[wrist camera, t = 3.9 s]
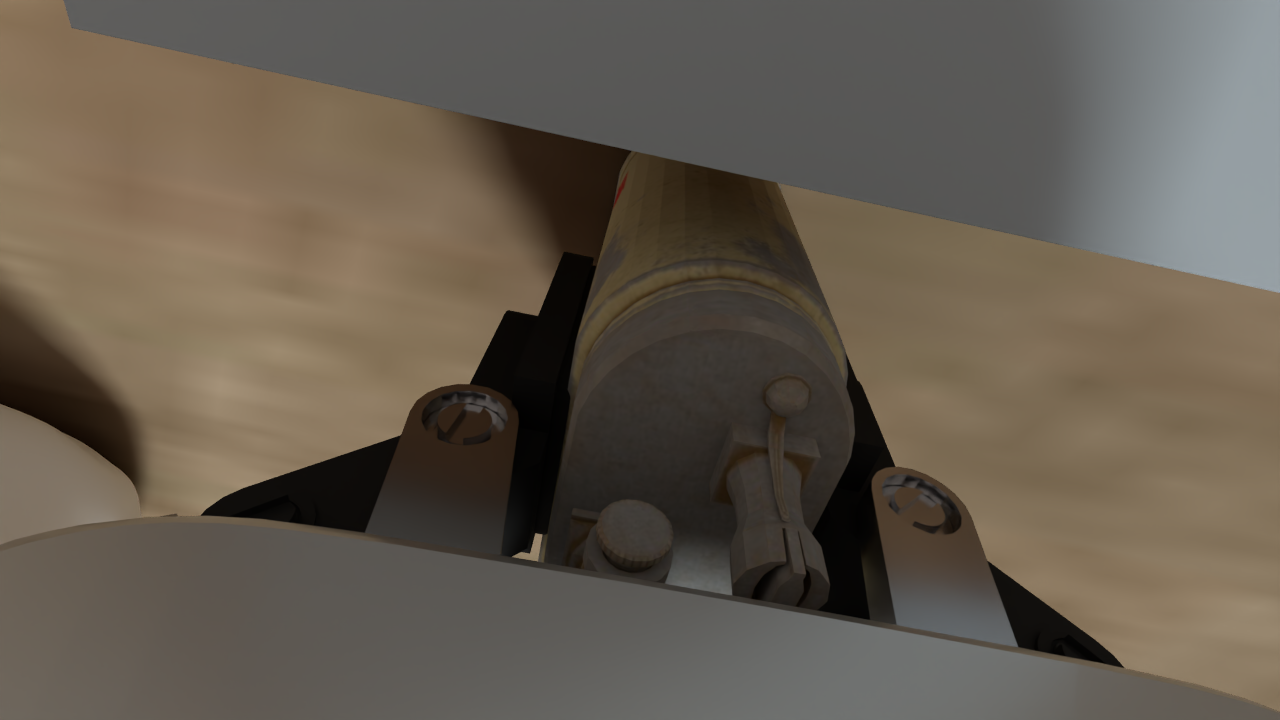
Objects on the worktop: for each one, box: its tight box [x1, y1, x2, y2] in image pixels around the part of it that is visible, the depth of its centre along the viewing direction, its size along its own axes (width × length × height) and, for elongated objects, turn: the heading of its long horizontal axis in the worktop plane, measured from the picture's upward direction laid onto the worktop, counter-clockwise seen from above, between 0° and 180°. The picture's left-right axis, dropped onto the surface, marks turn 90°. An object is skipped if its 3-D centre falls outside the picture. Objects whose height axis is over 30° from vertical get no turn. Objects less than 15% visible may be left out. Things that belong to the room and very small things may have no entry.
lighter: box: [538, 151, 855, 610], centre depth 10 cm, size 7×4×10 cm, turn 168°
